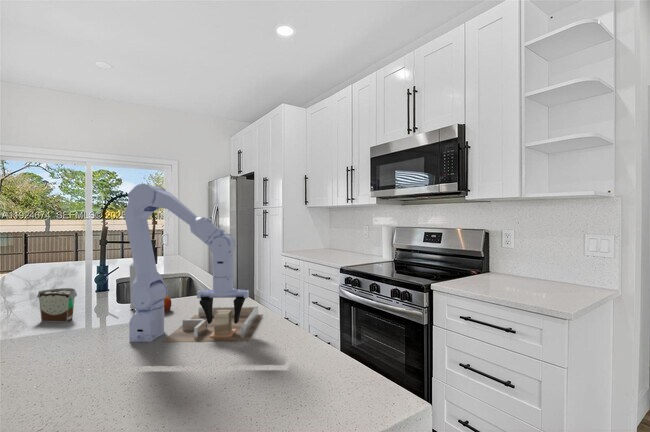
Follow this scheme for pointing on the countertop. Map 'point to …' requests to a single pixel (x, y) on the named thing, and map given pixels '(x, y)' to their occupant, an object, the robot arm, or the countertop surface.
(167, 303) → the fruit
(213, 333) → the pad
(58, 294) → the food container
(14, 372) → the countertop surface
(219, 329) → the maple block
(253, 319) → the channel walls
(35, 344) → the countertop surface
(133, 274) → the bottle
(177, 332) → the walnut board
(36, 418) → the countertop surface
